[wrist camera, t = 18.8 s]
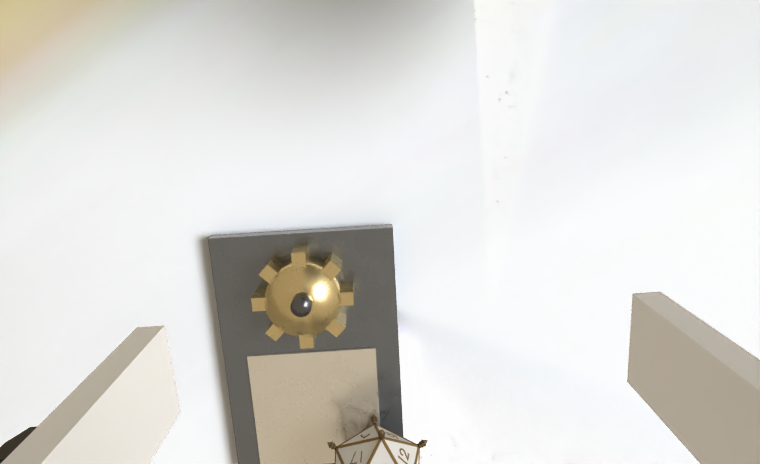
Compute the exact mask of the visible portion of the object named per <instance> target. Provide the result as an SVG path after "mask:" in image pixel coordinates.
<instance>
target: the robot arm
mask: <svg viewBox="0 0 760 464" xmlns="http://www.w3.org/2000/svg"><path fill="white" fill-rule="evenodd" d="M627 382H628V383H629V384H630V385H631V386H632V387H633V388H634V390H635V391H636V392H637V393H638V394H639V395H640V396H641V397H642V399H643V400H644V401H645V402H646V403H647V404H648V405H649V406H650V408H651V409H652V410H653V411H654V412H655V413H656V414H657V415H658V417H659V418H660V419H661V420H662V421H663V422H664V423H665V424H666V426H667V427H668V428H669V429H670V430H671V431H672V432H673V433H674V435H675V436H676V437H677V438H678V439H679V440H680V441H681V442H682V444H683V445H684V446H685V447H686V448H687V449H688V450H689V451H690V452H691V454H692V455H693V456H694V457H695V458H696V459H697V460H698V461H699V463H700V464H760V360H759V359H758V358H756V357H755V356H753V355H752V354H750V353H749V352H747V351H746V350H744V349H743V348H742V347H740V346H739V345H737V344H736V343H734V342H733V341H731V340H730V339H728V338H727V337H725V336H724V335H723V334H721V333H720V332H718V331H717V330H715V329H714V328H712V327H711V326H709V325H708V324H707V323H705V322H704V321H702V320H701V319H699V318H698V317H696V316H695V315H693V314H692V313H690V312H689V311H688V310H686V309H685V308H683V307H682V306H680V305H679V304H677V303H676V302H674V301H673V300H671V299H670V298H669V297H667V296H666V295H664V294H663V293H661V292H649V293H635V294H633V298H632V314H631V330H630V346H629V363H628V379H627ZM180 412H181V411H180V406H179V401H178V396H177V390H176V385H175V380H174V374H173V369H172V364H171V358H170V353H169V348H168V342H167V337H166V332H165V326H153V327H138V328H136V329H135V330H134V331H133V332H132V333H131V334H130V335H129V336H128V337H127V338H126V339H125V340H124V341H123V342H122V343H121V344H120V345H119V346H118V347H117V348H116V349H115V350H114V351H113V352H112V353H111V354H110V355H109V356H108V357H107V358H106V359H105V360H104V361H103V362H102V363H101V364H100V365H99V366H98V367H97V368H96V369H95V370H94V371H93V372H92V373H91V374H90V375H89V376H88V377H87V378H86V379H85V380H84V381H83V382H82V383H81V384H80V385H79V386H78V387H77V388H76V389H75V390H74V391H73V392H72V393H71V394H70V395H69V396H68V397H67V398H66V399H65V400H64V401H63V402H62V403H61V404H60V405H59V406H58V407H57V408H56V409H55V410H54V411H53V412H52V413H51V414H50V415H49V416H48V417H47V418H46V419H45V420H44V421H43V422H42V423H41V424H40V425H39V426H38V427H30V428H28V429H27V430H25V431H23V432H22V433H20V434H19V435H17V436H15V437H14V438H12V439H11V440H9V441H7V442H6V443H4V444H3V445H2V446H1V447H0V464H150V462H151V460H152V459H153V457H154V455H155V454H156V452H157V450H158V449H159V447H160V445H161V444H162V442H163V440H164V439H165V437H166V435H167V434H168V432H169V430H170V429H171V427H172V425H173V424H174V422H175V420H176V419H177V417H178V415H179V414H180Z"/></svg>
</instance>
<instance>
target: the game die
mask: <svg viewBox="0 0 760 464" xmlns="http://www.w3.org/2000/svg"><path fill="white" fill-rule="evenodd" d="M371 419H372V421H371V422H372V423H373V425H371V426H370V427H368V428H366V429H365V430H363V431H361V432H360V433H358V434H357V435H355V436H353V437H352V438H350V439H348V440H347V441H345V442H343V443H342V444H340V445H338V446H336V445H335V443H333V441H332V442H327V444H328V446H329V448H331V449H334V450H335V464H419V453H420V448H421V447H423V446H426V443H427V440H422V441H421V442H419V444H415V443H413V442H411V441H409V440H407V439H405V438H403V437H401V436H399V435H397V434H395V433H393V432H391V431H389V430H387V429H385V428H383V427H381V426H379V425H377V422H378V421H377V419H378V418H377V417H376V416H375V415H374V416H373V417H372V418H371Z"/></svg>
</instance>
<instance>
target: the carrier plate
mask: <svg viewBox="0 0 760 464" xmlns="http://www.w3.org/2000/svg"><path fill="white" fill-rule="evenodd" d="M208 242H209V249H210V256H211V264H212V271H213V278H214V286H215V293H216V301H217V308H218V315H219V323H220V330H221V338H222V345H223V352H224V360H225V367H226V374H227V382H228V389H229V397H230V404H231V411H232V419H233V426H234V433H235V441H236V448H237V456H238V463H239V464H335V450H334V449H331V448H329V446H328V444H327V442H332V441H333V443H335V445H336V446H338V445H340V444H342V443H343V442H345V441H347V440H348V439H350V438H352V437H353V436H355V435H357V434H358V433H360V432H361V431H363V430H365V429H366V428H368V427H370V426H371V425H373V423H372V422H371V421H372V419H371V418H372V417H373V416H374V415H375V416H376V417H377V418H378V419H377V421H378V422H377V425H379V426H381V427H383V428H385V429H387V430H389V431H391V432H393V433H395V434H397V435H399V436H401V437H403V424H402V404H401V384H400V364H399V344H398V324H397V305H396V285H395V265H394V245H393V227H392V224H388V225H372V226H355V227H338V228H322V229H305V230H289V231H272V232H255V233H239V234H222V235H212V236H211V237H209V238H208Z"/></svg>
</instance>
